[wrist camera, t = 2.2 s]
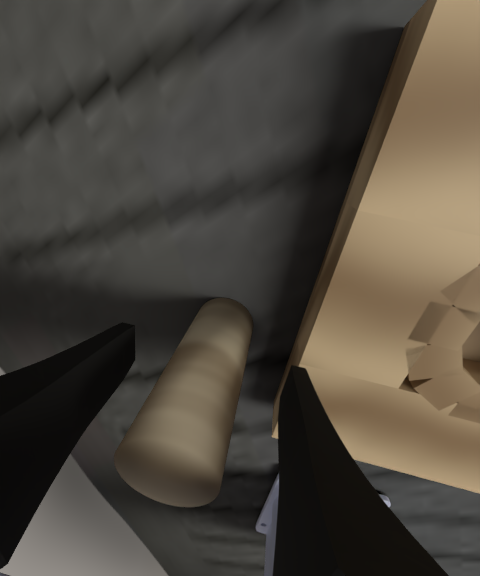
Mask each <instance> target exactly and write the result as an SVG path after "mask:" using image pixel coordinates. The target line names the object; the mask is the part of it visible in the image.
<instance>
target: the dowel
mask: <svg viewBox="0 0 480 576" xmlns="http://www.w3.org/2000/svg"><path fill="white" fill-rule="evenodd" d="M252 331H253V320H252V317H251V314H250V313H249V311H248V310H247V309H246V308H245V307H244V306H243V305H242V304H240V303H239V302H237V301H235V300H232V299H228V298H215V299H212V300H209V301H208V302H206V303H205V304H204V305H203V306H202V307H201V308H200V310H199V312H198V313H197V315H196V317H195V318H194V320H193V322H192V323H191V325H190V327H189V329H188V330H187V332H186V334H185V335H184V337H183V339H182V340H181V342H180V344H179V345H178V347H177V349H176V350H175V352H174V354H173V356H172V357H171V359H170V361H169V362H168V364H167V366H166V367H165V369H164V371H163V372H162V374H161V376H160V378H159V379H158V381H157V383H156V384H155V386H154V388H153V389H152V391H151V393H150V394H149V396H148V398H147V399H146V401H145V403H144V405H143V406H142V408H141V410H140V411H139V413H138V415H137V416H136V418H135V420H134V421H133V423H132V425H131V427H130V428H129V430H128V432H127V433H126V435H125V437H124V438H123V440H122V442H121V443H120V445H119V447H118V448H117V450H116V452H115V455H114V464H115V467H116V470H117V472H118V473H119V475H120V476H121V477H122V479H123V480H124V481H125V482H126V483H127V484H128V485H130V486H131V487H132V488H133V489H135V490H136V491H138V492H139V493H141V494H143V495H144V496H146V497H148V498H151V499H153V500H155V501H158V502H161V503H164V504H168V505H172V506H178V507H198V506H203V505H206V504H208V503H210V502H212V501H213V500H214V499H216V497H217V496H218V494H219V492H220V488H221V483H222V478H223V473H224V468H225V463H226V458H227V453H228V449H229V444H230V439H231V434H232V429H233V424H234V419H235V414H236V409H237V404H238V399H239V395H240V390H241V385H242V380H243V375H244V370H245V365H246V360H247V355H248V350H249V346H250V341H251V336H252Z"/></svg>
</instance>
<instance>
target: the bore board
mask: <svg viewBox="0 0 480 576" xmlns="http://www.w3.org/2000/svg"><path fill="white" fill-rule="evenodd" d="M291 365H294V366H298V367H302V368H306V370H307V372H308V374H309V377H310V379H311V381H312V384H313V386H314V388H315V391H316V393H317V395H318V397H319V399H320V401H321V403H322V405H323V407H324V409H325V411H326V413H327V415H328V417H329V419H330V421H331V423H332V425H333V426H334V428H335V430H336V432H337V433H338V435H339V437H340V439H341V440H342V442H343V444H344V445H345V447H346V449H347V450H348V452H349V453H350V455H351V456H352V458H353V459H355V460H358V461H362V462H366V463H369V464H373V465H377V466H381V467H384V468H388V469H392V470H395V471H399V472H403V473H406V474H410V475H414V476H417V477H421V478H425V479H428V480H432V481H436V482H439V483H443V484H447V485H451V486H454V487H458V488H462V489H465V490H469V491H473V492H476V493H480V0H427V1H426V2H425V4H424V5H423V6H422V7H421V8H420V9H419V10H418V12H417V13H416V14H415V15H414V16H413V17H412V19H411V20H410V21H409V22H408V23H407V24H406V25H405V27H404V30H403V33H402V35H401V38H400V41H399V44H398V47H397V50H396V53H395V55H394V58H393V61H392V64H391V67H390V70H389V73H388V76H387V78H386V81H385V84H384V87H383V90H382V93H381V96H380V99H379V101H378V104H377V107H376V110H375V113H374V116H373V119H372V121H371V124H370V127H369V130H368V133H367V136H366V139H365V142H364V144H363V147H362V150H361V153H360V156H359V159H358V162H357V164H356V167H355V170H354V173H353V176H352V179H351V182H350V185H349V187H348V190H347V193H346V196H345V199H344V202H343V205H342V207H341V210H340V213H339V216H338V219H337V222H336V225H335V228H334V230H333V233H332V236H331V239H330V242H329V245H328V248H327V250H326V253H325V256H324V259H323V262H322V265H321V268H320V271H319V273H318V276H317V279H316V282H315V285H314V288H313V291H312V294H311V296H310V299H309V302H308V305H307V308H306V311H305V314H304V316H303V319H302V322H301V325H300V328H299V331H298V334H297V337H296V339H295V342H294V345H293V348H292V351H291V354H290V357H289V359H288V362H287V365H286V368H285V371H284V374H283V377H282V380H281V382H280V385H279V388H278V391H277V394H276V397H275V400H274V407H273V425H272V437H274V438H277V439H278V412H279V401H280V395H281V393H282V390H283V387H284V384H285V382H286V379H287V376H288V373H289V370H290V368H291Z"/></svg>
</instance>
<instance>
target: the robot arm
mask: <svg viewBox="0 0 480 576" xmlns="http://www.w3.org/2000/svg"><path fill="white" fill-rule="evenodd" d="M134 361H135V326H134V325H130V324H126V323H120V324H118V325H116V326H114V327H112V328H110V329H108V330H106V331H104V332H102V333H100V334H98V335H96V336H94V337H92V338H90V339H88V340H86V341H84V342H82V343H80V344H78V345H76V346H74V347H71V348H69V349H67V350H65V351H63V352H60V353H58V354H56V355H54V356H52V357H49V358H47V359H45V360H42V361H40V362H37V363H35V364H32V365H30V366H27V367H24V368H22V369H19V370H16V371H13V372H11V373H8V374H5V375H1V376H0V569H1V568H3V567H4V566H5V565H7V564H8V562H9V560H10V558H11V556H12V554H13V553H14V551H15V549H16V547H17V545H18V543H19V541H20V539H21V538H22V536H23V534H24V532H25V530H26V528H27V527H28V524H29V523H30V521H31V519H32V517H33V515H34V513H35V512H36V510H37V509H38V507H39V505H40V503H41V501H42V500H43V498H44V496H45V495H46V493H47V491H48V489H49V487H50V486H51V484H52V482H53V481H54V479H55V477H56V476H57V474H58V473H59V471H60V469H61V467H62V466H63V464H64V462H65V461H66V459H67V458H68V456H69V454H70V453H71V451H72V450H73V448H74V447H75V445H76V443H77V442H78V440H79V439H80V437H81V436H82V434H83V433H84V431H85V430H86V428H87V427H88V426H89V424H90V423H91V422H92V420H93V419H94V418H95V416H96V415H97V414H98V412H99V411H100V410H101V409H102V407H103V406H104V405H105V403H106V402H107V401H108V399H109V398H110V397H111V395H112V394H113V393H114V392H115V390H116V389H117V388H118V386H119V385H120V384H121V382H122V381H123V380H124V378H125V376H126V375H127V373H128V371H129V370H130V368H131V366H132V364H133V362H134ZM278 453H279V473H278V475H277V477H276V480H275V482H274V484H273V486H272V489H271V491H270V493H269V495H268V498H267V500H266V502H265V505H264V507H263V509H262V511H261V514H260V516H259V518H258V520H257V523H256V530H257V531H258V532H260V533H263V534H266V551H265V569H264V576H448V574H447V573H446V572H445V571H444V570H443V569H442V568H441V567H440V566H439V565H438V563H437V562H436V561H435V560H434V559H433V558H432V557H431V556H430V555H429V554H428V552H427V551H426V550H425V549H424V548H423V547H422V546H421V545H420V544H419V543H418V541H417V540H416V539H415V538H414V537H413V536H412V535H411V534H410V532H409V531H408V530H407V529H406V528H405V526H404V525H403V524H402V523H401V522H400V520H399V519H398V518H397V517H396V516H395V514H394V513H393V512H392V511H391V510H390V508H389V507H390V505H391V504H390V501H389V498H388V497H387V496H385V495H381V494H378V493H377V491H376V490H375V489H374V487H373V486H372V485H371V484H370V482H369V481H368V480H367V478H366V477H365V475H364V474H363V473H362V471H361V470H360V468H359V467H358V465H357V464H356V462H355V461H354V459H353V458H352V456H351V455H350V453H349V452H348V450H347V449H346V447H345V445H344V444H343V442H342V440H341V439H340V437H339V435H338V433H337V432H336V430H335V428H334V426H333V425H332V423H331V421H330V419H329V417H328V415H327V413H326V411H325V409H324V407H323V405H322V403H321V401H320V399H319V397H318V395H317V393H316V391H315V388H314V386H313V384H312V381H311V379H310V377H309V374H308V372H307V370H306V368H302V367H298V366H294V365H291V368H290V370H289V373H288V376H287V379H286V382H285V384H284V387H283V390H282V393H281V395H280V401H279V412H278ZM0 576H9V575H6V574H3V573H0Z"/></svg>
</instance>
